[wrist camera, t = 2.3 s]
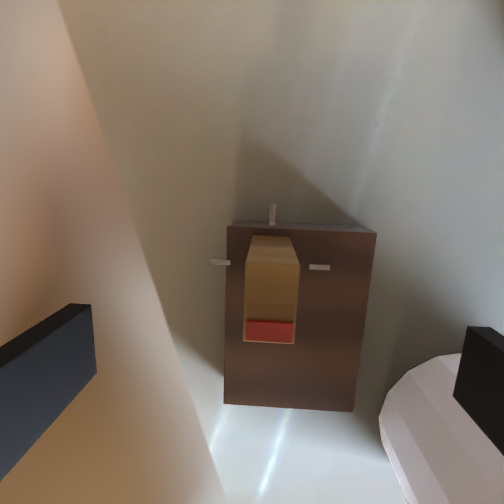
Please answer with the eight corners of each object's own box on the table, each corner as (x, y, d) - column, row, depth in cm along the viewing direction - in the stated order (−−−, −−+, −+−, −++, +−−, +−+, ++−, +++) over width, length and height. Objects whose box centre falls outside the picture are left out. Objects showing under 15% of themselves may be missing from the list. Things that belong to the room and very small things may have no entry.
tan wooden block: (252, 234, 21) (245, 263, 14) (289, 236, 21) (301, 266, 14) (250, 290, 22) (242, 344, 15) (285, 292, 22) (294, 347, 15)
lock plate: (218, 198, 23) (210, 201, 20) (366, 204, 23) (381, 209, 20) (215, 379, 27) (208, 404, 24) (343, 387, 27) (353, 414, 24)
